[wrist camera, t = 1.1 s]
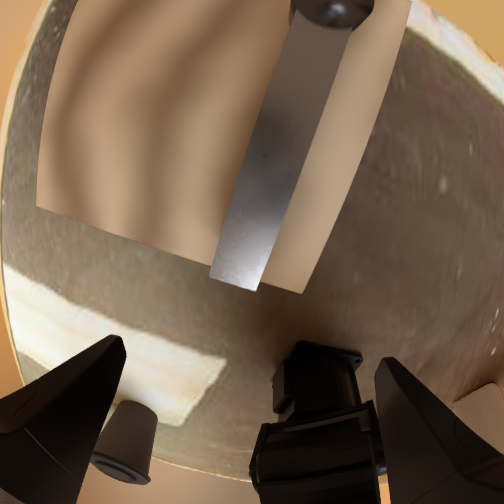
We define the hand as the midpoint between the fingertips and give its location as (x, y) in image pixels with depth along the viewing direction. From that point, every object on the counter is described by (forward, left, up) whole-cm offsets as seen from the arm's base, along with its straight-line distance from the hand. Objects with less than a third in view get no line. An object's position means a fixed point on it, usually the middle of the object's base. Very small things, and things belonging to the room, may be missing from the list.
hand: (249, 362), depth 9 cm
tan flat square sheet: (+7, -8, -12) cm, 16 cm away
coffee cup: (+7, +28, -12) cm, 31 cm away
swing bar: (+1, -7, -10) cm, 12 cm away
